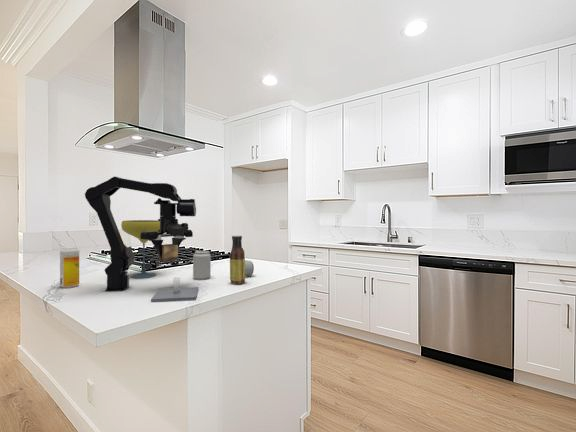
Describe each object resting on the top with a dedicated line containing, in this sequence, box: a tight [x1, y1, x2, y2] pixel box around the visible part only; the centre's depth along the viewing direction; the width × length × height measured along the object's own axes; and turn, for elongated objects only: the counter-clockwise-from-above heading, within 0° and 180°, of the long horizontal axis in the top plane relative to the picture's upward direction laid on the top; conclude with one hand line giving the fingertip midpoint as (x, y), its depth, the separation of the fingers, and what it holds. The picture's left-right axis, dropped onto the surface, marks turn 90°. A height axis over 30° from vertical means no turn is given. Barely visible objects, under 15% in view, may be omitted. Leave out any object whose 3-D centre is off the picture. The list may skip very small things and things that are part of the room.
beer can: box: [59, 246, 80, 289], centre depth 119 cm, size 6×6×15 cm
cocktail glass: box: [121, 219, 160, 279], centre depth 139 cm, size 18×18×25 cm
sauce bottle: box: [229, 234, 246, 285], centre depth 127 cm, size 6×6×20 cm
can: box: [192, 250, 212, 281], centre depth 136 cm, size 8×8×12 cm
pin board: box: [150, 277, 200, 303], centre depth 108 cm, size 14×14×6 cm
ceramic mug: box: [245, 259, 255, 277], centre depth 142 cm, size 11×8×8 cm
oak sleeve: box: [157, 243, 179, 263], centre depth 118 cm, size 5×5×6 cm
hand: (167, 256), depth 118 cm, fingers closed on oak sleeve, 5 cm apart
